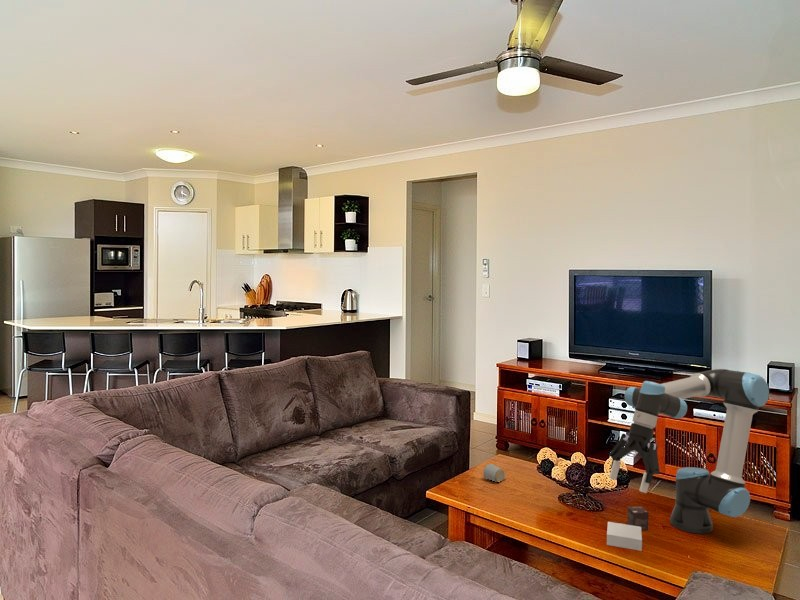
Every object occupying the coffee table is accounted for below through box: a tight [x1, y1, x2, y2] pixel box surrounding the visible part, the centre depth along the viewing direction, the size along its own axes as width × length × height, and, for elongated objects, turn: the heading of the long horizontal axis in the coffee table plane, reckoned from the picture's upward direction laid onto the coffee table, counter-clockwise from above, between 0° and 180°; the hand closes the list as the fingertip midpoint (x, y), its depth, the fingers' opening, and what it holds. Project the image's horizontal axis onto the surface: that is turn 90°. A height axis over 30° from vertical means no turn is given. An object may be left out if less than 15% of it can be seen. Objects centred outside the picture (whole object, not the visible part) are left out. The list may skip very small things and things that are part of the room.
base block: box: [606, 521, 643, 552], centre depth 211 cm, size 12×12×4 cm
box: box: [626, 506, 650, 531], centre depth 223 cm, size 6×6×7 cm
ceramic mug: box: [483, 463, 507, 483], centre depth 275 cm, size 11×8×8 cm
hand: (627, 485), depth 192 cm, fingers open, 13 cm apart
